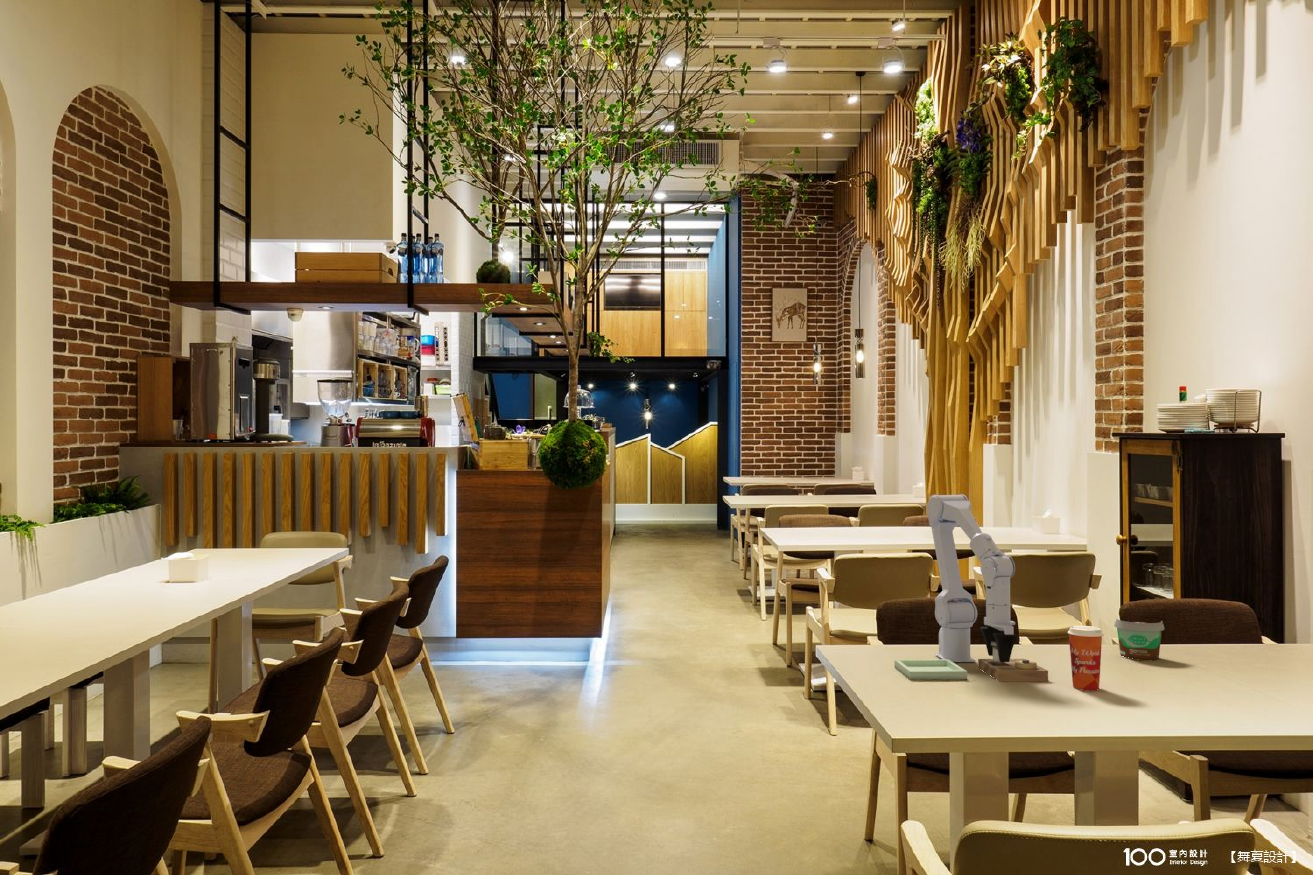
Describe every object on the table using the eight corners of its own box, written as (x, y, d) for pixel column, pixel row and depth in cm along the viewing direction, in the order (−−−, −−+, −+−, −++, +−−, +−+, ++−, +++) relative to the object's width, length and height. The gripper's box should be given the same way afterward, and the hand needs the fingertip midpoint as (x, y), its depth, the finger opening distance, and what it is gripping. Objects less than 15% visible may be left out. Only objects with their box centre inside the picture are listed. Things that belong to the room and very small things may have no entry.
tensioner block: (978, 668, 247) (978, 651, 247) (1024, 668, 247) (1024, 651, 247) (998, 681, 233) (998, 663, 233) (1048, 681, 233) (1047, 663, 233)
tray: (894, 667, 248) (894, 659, 248) (948, 667, 248) (948, 659, 248) (909, 679, 234) (909, 671, 234) (967, 679, 234) (967, 671, 234)
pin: (988, 672, 242) (988, 641, 243) (1003, 672, 242) (1002, 641, 243) (994, 675, 239) (994, 643, 239) (1008, 675, 239) (1008, 643, 239)
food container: (1118, 659, 257) (1117, 622, 258) (1114, 655, 263) (1114, 618, 264) (1169, 662, 254) (1169, 624, 254) (1164, 658, 260) (1164, 620, 260)
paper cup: (1066, 689, 224) (1066, 629, 225) (1069, 682, 231) (1069, 624, 231) (1103, 693, 221) (1103, 631, 221) (1105, 686, 228) (1104, 626, 228)
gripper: (1025, 608, 234) (1026, 664, 233) (1003, 599, 248) (1003, 652, 248) (996, 608, 234) (997, 664, 233) (975, 599, 248) (976, 652, 248)
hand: (998, 658), depth 241 cm, fingers open, 7 cm apart
